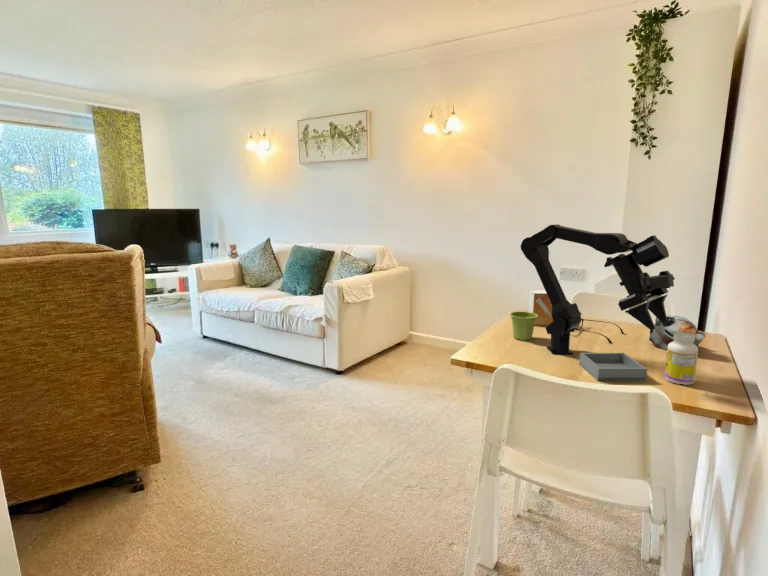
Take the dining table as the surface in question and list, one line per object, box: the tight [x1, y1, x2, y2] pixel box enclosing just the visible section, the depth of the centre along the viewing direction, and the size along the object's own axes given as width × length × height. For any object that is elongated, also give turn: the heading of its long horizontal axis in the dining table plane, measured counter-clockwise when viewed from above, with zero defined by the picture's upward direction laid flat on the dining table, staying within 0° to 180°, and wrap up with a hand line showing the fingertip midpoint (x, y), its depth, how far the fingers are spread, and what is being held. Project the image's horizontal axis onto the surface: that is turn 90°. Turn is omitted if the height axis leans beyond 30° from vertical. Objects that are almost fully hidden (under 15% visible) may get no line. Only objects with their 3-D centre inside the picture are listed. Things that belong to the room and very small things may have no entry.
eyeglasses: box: [574, 318, 625, 344], centre depth 157 cm, size 16×16×4 cm
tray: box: [578, 352, 648, 382], centre depth 122 cm, size 13×13×4 cm
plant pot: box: [509, 310, 538, 341], centre depth 154 cm, size 9×9×9 cm
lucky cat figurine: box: [648, 315, 706, 351], centre depth 140 cm, size 15×12×14 cm
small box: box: [528, 289, 553, 326], centre depth 171 cm, size 8×6×13 cm
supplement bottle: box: [664, 332, 699, 386], centre depth 114 cm, size 7×7×13 cm
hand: (659, 326), depth 117 cm, fingers open, 9 cm apart
